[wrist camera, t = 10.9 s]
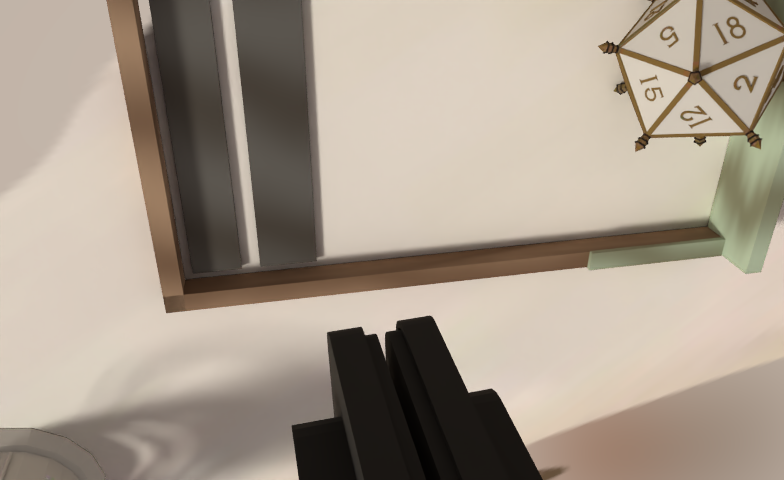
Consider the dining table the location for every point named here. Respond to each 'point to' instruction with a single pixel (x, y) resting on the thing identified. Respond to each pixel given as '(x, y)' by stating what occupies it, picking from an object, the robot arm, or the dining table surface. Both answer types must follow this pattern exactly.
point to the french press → (44, 457)
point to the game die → (701, 68)
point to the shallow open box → (294, 181)
